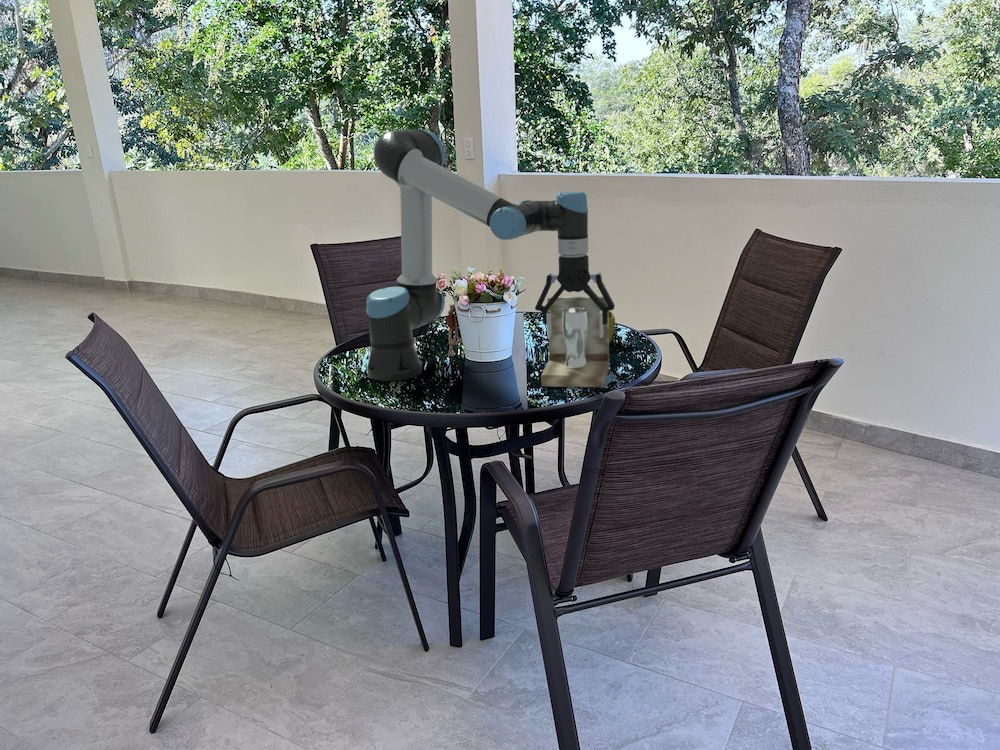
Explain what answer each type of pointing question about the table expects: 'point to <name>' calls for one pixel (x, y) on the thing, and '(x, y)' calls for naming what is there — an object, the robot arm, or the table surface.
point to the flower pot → (611, 325)
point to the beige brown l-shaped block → (595, 348)
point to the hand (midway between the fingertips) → (575, 336)
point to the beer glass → (575, 336)
